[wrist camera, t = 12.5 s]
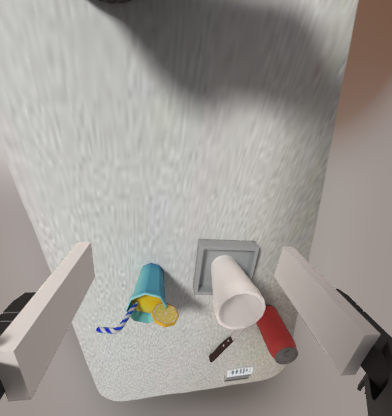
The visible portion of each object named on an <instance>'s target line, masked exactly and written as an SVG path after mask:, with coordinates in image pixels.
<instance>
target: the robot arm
mask: <svg viewBox="0 0 392 416" xmlns="http://www.w3.org/2000/svg"><path fill="white" fill-rule="evenodd" d="M100 1H103V2H108V3H122V2H126V1H129V0H100ZM94 277H95V274H94V265H93V257H92V248H91V242H77V244H76V245H75V246H74V247H73V248H72V250H71V251H70V252H69V253H68V254H67V256H66V257H65V258H64V259H63V261H62V262H61V263H60V264H59V265H58V267H57V268H56V269H55V270H54V272H53V273H52V274H51V275H50V277H49V278H48V279H47V280H46V281H45V282H44V284H43V285H42V286H41V287H40V289H39V290H38V291H37V292H36V293H24V294H23V295H22V296H20V297H19V298H17V299H16V300H14V301H13V302H12V303H11V304H10V305H9V306H8V308H7V309H6V310H5V311H4V312H3V314H1V315H0V399H1V397H2V396H3V394H4V393H5V394H6V396H7V399H8V401H18V400H31V399H32V397H33V395H34V394H35V392H36V390H37V388H38V385H39V384H40V382H41V380H42V378H43V376H44V374H45V372H46V370H47V368H48V366H49V364H50V363H51V361H52V359H53V357H54V355H55V353H56V351H57V349H58V347H59V345H60V343H61V341H62V339H63V337H64V335H65V334H66V331H67V330H68V328H69V326H70V324H71V322H72V320H73V318H74V316H75V314H76V312H77V310H78V308H79V306H80V305H81V303H82V301H83V299H84V297H85V295H86V293H87V291H88V289H89V287H90V285H91V283H92V281H93V279H94ZM274 277H275V279H276V280H277V282H278V283H279V285H280V286H281V288H282V289H283V291H284V292H285V294H286V295H287V297H288V298H289V300H290V301H291V303H292V304H293V306H294V307H295V309H296V310H297V311H298V313H299V314H300V316H301V317H302V319H303V320H304V322H305V323H306V325H307V326H308V328H309V329H310V331H311V332H312V334H313V335H314V336H315V338H316V340H317V341H318V342H319V344H320V345H321V347H322V348H323V350H324V351H325V353H326V354H327V356H328V357H329V359H330V360H331V361H332V363H333V365H334V366H335V368H336V369H337V371H338V372H339V373H340V375H352V374H353V375H354V374H356V372H357V371H358V369H359V367H360V366H361V367H362V368H363V369H364V371H365V372H366V374H365V376H364V377H363V379H362V380H361V382H360V383H359V385H358V390H359V391H361V389H362V388H363V386H365V394H366V399H367V408H368V416H392V337H391V336H389V335H388V334H387V333H386V332H385V331H384V330H383V329H382V328H381V327H380V326H379V325H378V324H377V323H376V322H375V321H374V320H373V319H372V318H371V317H370V316H369V315H368V314H367V313H366V312H363V310H362V309H361V308H360V307H359V306H358V305H356V303H355V302H354V301H353V300H352V299H351V298H350V297H349V296H348V295H346V294H345V293H343V292H342V291H340V290H339V289H335V288H334V287H333V286H332V285H331V284H330V283H329V282H328V281H327V280H326V279H325V278H324V277H323V276H322V275H321V274H320V273H319V272H318V271H317V270H316V269H315V268H314V267H313V266H312V265H311V264H310V263H309V262H308V261H307V260H306V259H305V258H304V257H303V256H302V255H301V254H300V253H299V252H298V251H297V250H296V249H295V248H294V247H287V246H283V248H282V252H281V255H280V258H279V262H278V265H277V268H276V272H275V275H274Z"/></svg>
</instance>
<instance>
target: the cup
mask: <svg viewBox="0 0 392 416" xmlns="http://www.w3.org/2000/svg"><path fill="white" fill-rule="evenodd" d="M126 311H127V314H126V316H125V317H124V319H123V320H122V322H121V323H120V325H119V326H118V327H116V328H108V327H98V328H97V329H96V332H97V333H109V334H116V333H117V332H119V331H120V330H121V329H122V328H123V327H124V325H125V324H126V322H127V320H128V319H129V317H131V318H132V319H133V320H134V321H139V322H144V323H150V322H152V321H154V322H155V323H157V324H159V325H161V326H163V327H168V326H172V325H175V323H176V321H177V318H178V316H179V314H178V312H177V310H176V308H175V307H174V306H172V305H170V304H168V303H166V301H165V293H164V279H163V271H162V269H161V267H160V266H159V265H157V264H153V263H150V264H147V265H145V266H143V268H142V270H141V273H140V276H139V278H138V281H137V284H136V287H135V290H134V292H133V295H132V296H131V298H130V300H129V303H128V306H127V308H126Z"/></svg>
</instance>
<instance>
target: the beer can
mask: <svg viewBox="0 0 392 416" xmlns="http://www.w3.org/2000/svg"><path fill="white" fill-rule="evenodd" d="M256 323H257V325H258V327H259V330H260V332H261V334H262V337H263V339H264V341H265V343H266V346H267V348H268V350H269V352H270V354H271V355H272V357H273V358H274V359H275V361H276V362H277V363H279V364H288V363H291V362H292V361H294V360H295V359H296V358H297V356H298V351H297V349H296V345H295V342H294V340H293V338H292V337H291V335H290V333H289V331H288V330H287V328H286V326H285V324H284V323H283V321H282V319H281V318H280V316H279V314H278V312H277V311H276V309H275V308H274V307H273V306H269V305H266V308H265V311H264V314H263V316H262V317H261V318H260V319H259V320H258V321H257V322H256Z"/></svg>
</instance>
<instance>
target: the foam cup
mask: <svg viewBox="0 0 392 416" xmlns="http://www.w3.org/2000/svg"><path fill="white" fill-rule="evenodd" d="M211 277H212V289H213V308H214V312H215V316H216V318H217V321H218V323H219V324H221V325H222V326H223V327H225V328H229V329H235V330H236V329H242V328H247V327H249V326H251V325H253V324H255V323H256V322H257V321H258V320H259V319H260V318H261V317H262V316H263V314H264V311H265V308H266V306H265V302H264V298H263V297H262V295H261V293H260V291H259V289H258V288H256V287H255V286H254V284H253V283H252V282H251V280H250V279H249V278H248V276H247V275H246V274H245V272H244V271H243V270H242V268H241V267H240V266H239V264H238V263H237V262H236V261H235V259H234V258H233V257H231V256H228V255H223V256H219V257H217V258H216V259H215V260H214V261H213V262H212V264H211Z"/></svg>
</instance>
